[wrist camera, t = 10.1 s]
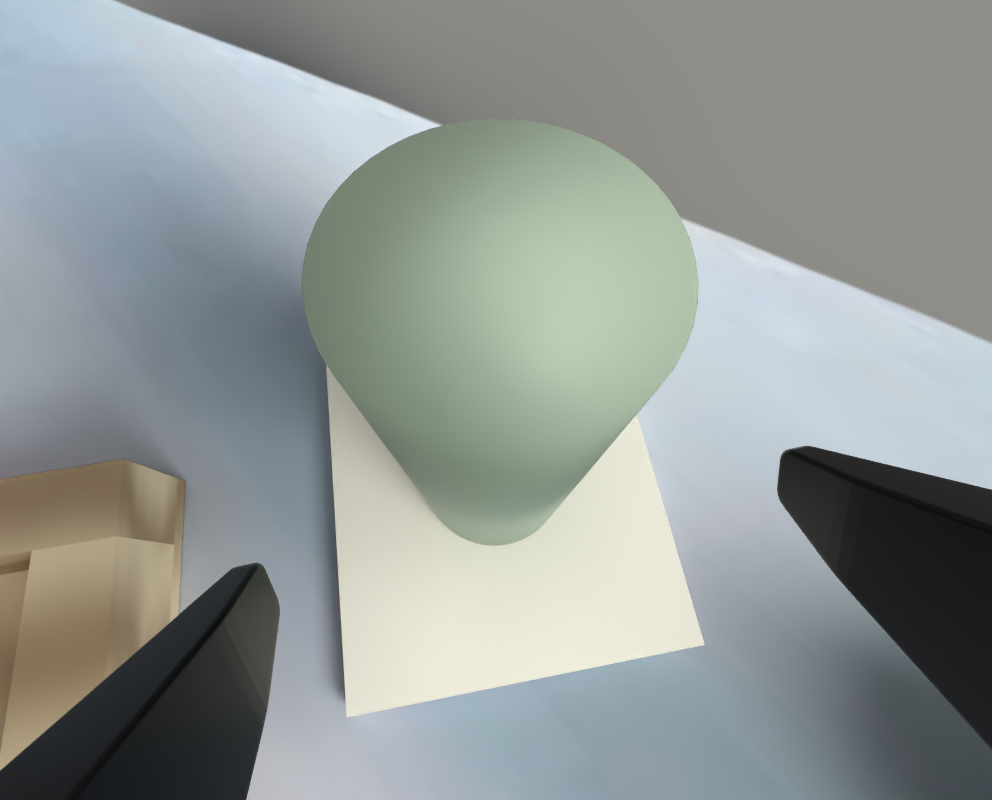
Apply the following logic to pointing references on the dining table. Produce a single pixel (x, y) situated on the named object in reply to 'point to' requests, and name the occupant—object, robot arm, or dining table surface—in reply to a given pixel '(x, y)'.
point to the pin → (499, 311)
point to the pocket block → (80, 584)
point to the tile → (496, 578)
